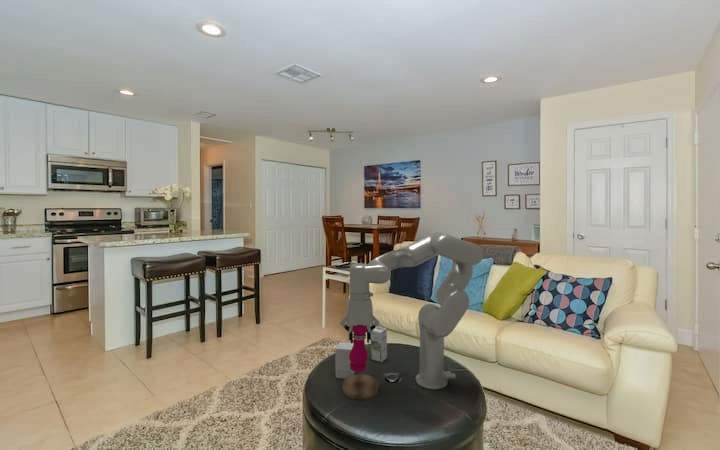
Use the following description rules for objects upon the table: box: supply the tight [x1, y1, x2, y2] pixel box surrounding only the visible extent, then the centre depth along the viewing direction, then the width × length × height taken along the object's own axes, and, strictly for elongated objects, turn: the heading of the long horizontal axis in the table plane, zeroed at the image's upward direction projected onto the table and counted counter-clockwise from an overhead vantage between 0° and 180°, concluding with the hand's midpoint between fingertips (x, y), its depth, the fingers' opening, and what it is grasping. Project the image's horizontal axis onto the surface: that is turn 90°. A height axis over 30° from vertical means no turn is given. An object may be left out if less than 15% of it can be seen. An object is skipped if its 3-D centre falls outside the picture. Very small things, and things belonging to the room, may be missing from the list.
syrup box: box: [370, 325, 388, 363], centre depth 165 cm, size 6×6×14 cm
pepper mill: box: [349, 325, 369, 373], centre depth 138 cm, size 7×7×20 cm
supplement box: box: [334, 341, 356, 380], centre depth 151 cm, size 7×7×13 cm
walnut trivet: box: [341, 373, 379, 400], centre depth 140 cm, size 14×14×2 cm
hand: (359, 341), depth 138 cm, fingers closed on pepper mill, 5 cm apart
